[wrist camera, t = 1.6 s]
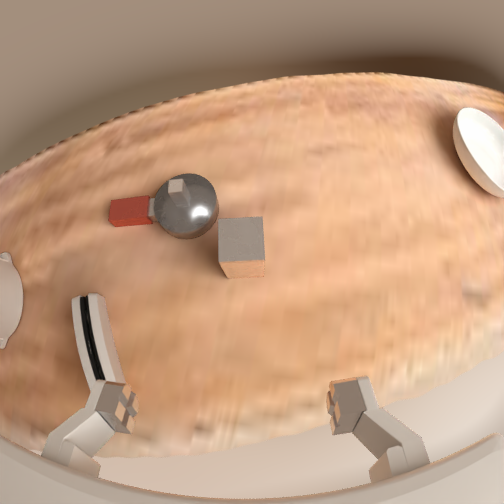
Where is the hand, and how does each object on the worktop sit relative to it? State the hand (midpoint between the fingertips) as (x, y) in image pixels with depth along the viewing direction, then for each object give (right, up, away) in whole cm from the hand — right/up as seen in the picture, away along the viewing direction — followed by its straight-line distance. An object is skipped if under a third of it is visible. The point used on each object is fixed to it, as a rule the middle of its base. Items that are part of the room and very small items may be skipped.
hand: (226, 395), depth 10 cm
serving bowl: (+49, +24, +34) cm, 64 cm away
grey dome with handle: (-12, +12, +31) cm, 35 cm away
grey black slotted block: (-19, -9, +26) cm, 34 cm away
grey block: (0, +4, +29) cm, 29 cm away
